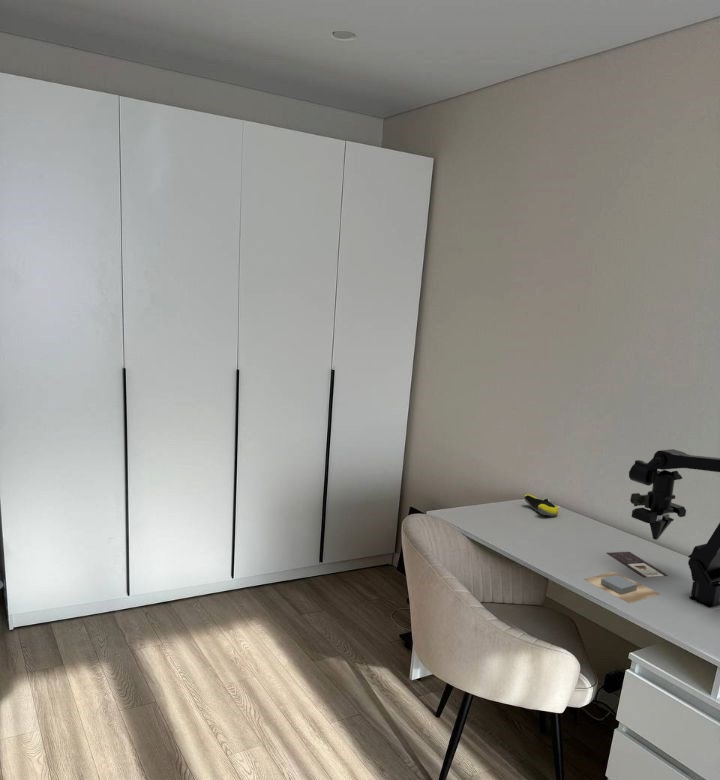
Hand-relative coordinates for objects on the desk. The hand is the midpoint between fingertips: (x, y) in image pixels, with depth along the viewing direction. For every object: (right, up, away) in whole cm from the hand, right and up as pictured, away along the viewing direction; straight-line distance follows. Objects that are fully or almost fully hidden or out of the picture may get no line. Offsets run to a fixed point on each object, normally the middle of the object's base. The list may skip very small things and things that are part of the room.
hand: (655, 539), depth 199 cm
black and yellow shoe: (-19, -2, +55) cm, 58 cm away
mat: (-14, -12, -8) cm, 20 cm away
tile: (-12, -11, -7) cm, 18 cm away
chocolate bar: (-2, -11, +10) cm, 15 cm away
